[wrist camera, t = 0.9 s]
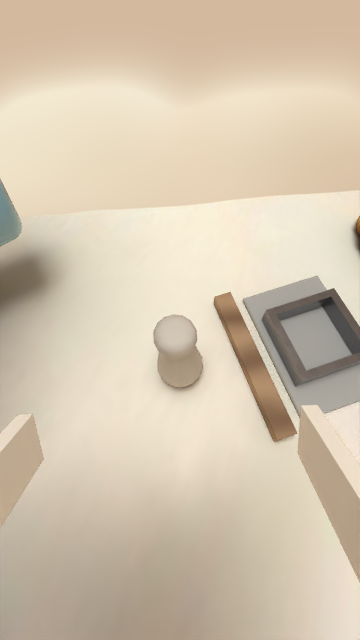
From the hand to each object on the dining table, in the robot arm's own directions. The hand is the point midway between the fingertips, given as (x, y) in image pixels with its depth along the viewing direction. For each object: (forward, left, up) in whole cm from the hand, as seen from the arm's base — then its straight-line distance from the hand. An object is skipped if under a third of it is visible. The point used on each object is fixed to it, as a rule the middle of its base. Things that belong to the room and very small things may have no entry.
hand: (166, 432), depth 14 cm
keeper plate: (-7, +21, -23) cm, 32 cm away
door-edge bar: (-7, +12, -23) cm, 27 cm away
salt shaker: (-9, +3, -23) cm, 25 cm away
